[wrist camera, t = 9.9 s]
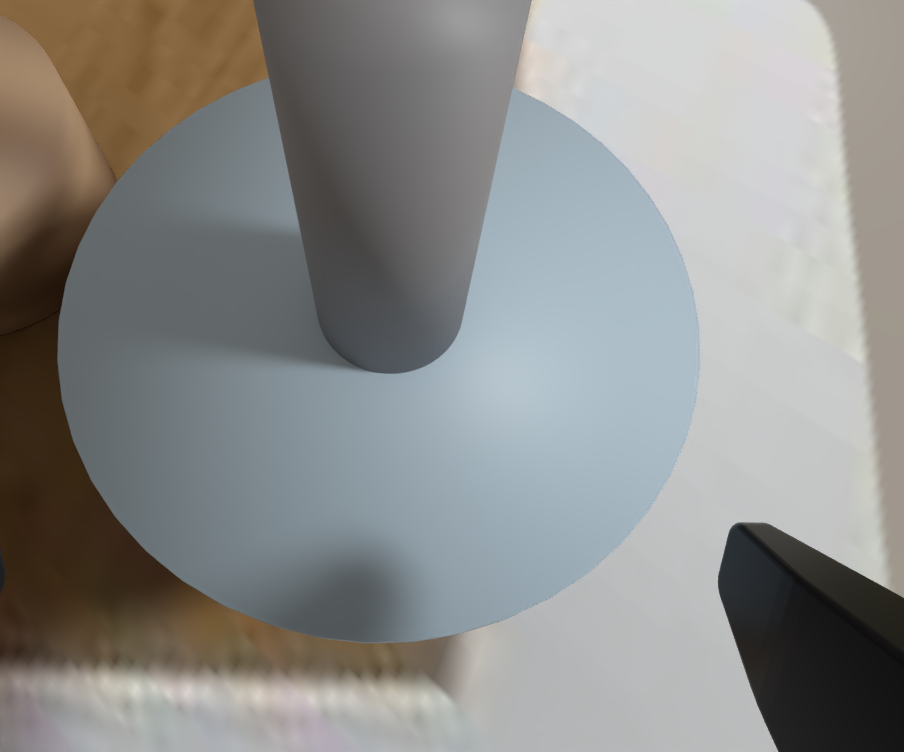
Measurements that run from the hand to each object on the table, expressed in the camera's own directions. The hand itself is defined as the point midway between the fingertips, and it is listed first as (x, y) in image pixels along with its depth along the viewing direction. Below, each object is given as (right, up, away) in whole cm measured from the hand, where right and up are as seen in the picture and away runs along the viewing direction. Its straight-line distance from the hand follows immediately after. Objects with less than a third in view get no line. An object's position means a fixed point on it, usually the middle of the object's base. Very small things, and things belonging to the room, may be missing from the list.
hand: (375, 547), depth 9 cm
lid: (0, +3, +7) cm, 8 cm away
